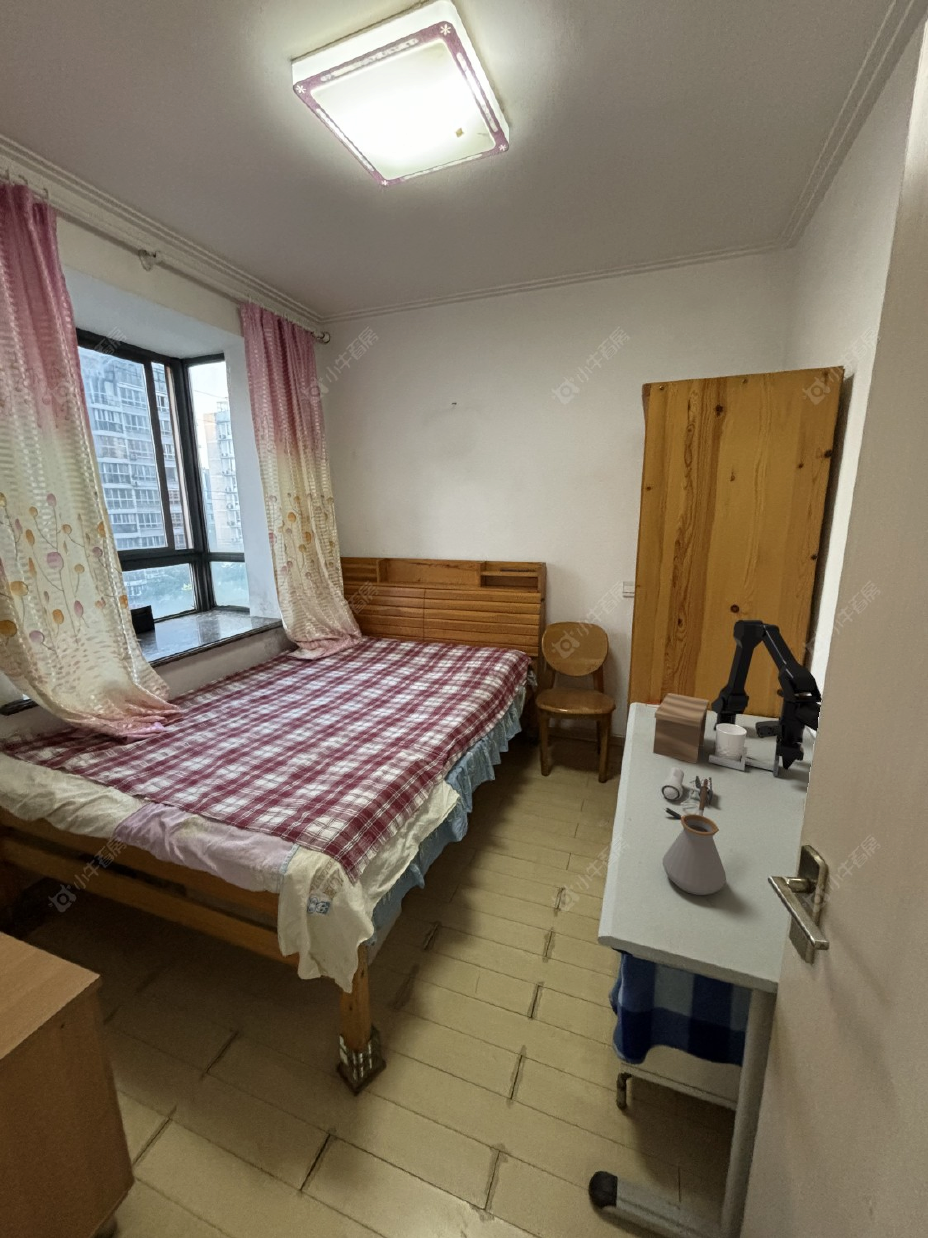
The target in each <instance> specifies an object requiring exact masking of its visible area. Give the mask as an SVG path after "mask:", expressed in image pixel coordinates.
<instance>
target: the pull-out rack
mask: <svg viewBox="0 0 928 1238" xmlns="http://www.w3.org/2000/svg"><path fill="white" fill-rule="evenodd" d="M713 750H715V741H713ZM775 751H776V749H775ZM775 751H774V752H775ZM747 753H748V747H746V746H744V749H743V754H742V757H741V762H739V761H735V760H731V759H726V758H722V757H718V756H715V755H714V754H709V757H708V758H709V759H708V762H709V763H711V764H716V765H719V766H722V767H723V766H725V767H728V768H731V769H736V770H741V771H745V766H746V765H747V766H751V767H756V768H759V769H765V770H769V771H772V776H775V777H778V772H779V765H780V756H777V755H775V754H774V758H773V763H769V762H764V761H760V760H755V759H751V758H747V756H748V754H747Z"/></svg>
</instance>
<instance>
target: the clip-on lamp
mask: <svg viewBox="0 0 928 1238" xmlns="http://www.w3.org/2000/svg"><path fill="white" fill-rule="evenodd" d="M684 776H685V773H684V771H683V770H682V768H681V767H677V766H674V767H673V766H672V768H670V769H669V772H668V775H667V778H666V779H665V780H664V781H663V782H662V784H661V786H660V790H661V791H660V792H661V795H663V797H664V798H666V799H668V800H671V801H677V800H679V799H680V798H681V797H682V795H683V788H684V789H686V790H690V792H689V796H688V798H687V799H686V800H684V801H682V802H680V805H681V806H697V809H696V811H694V813H692V814H696V815H697V812H699V804H698V803H694V802H689V801H690V800H691V799H692V795H693V794H694V793H695V792H696V793H697V794H698V797H699V799H700V795H701V792H702V790H703V789H702V786H703V784H701V783H703V782H704V781H701V780H703V779H702V778H700V777H699V775H696V777H695V779H692V780H689V783H690V784H692V785H693V786H692V785H689V784H686V783H683V782H684ZM707 780H708V781H710V782H711V783H712V777H710V776H709V777H708V779H707ZM710 782H708V785H711V783H710ZM695 786H696V787H695ZM707 787H708V790H707V798H708V799H707V800H708V801H707V804H708V806H711V803H712V799H713V795H714V792H713V783H712V785H711V786H707ZM699 803H700V800H699ZM662 810H665V812H666V813H667V814H668V815H670V816H672V817H674V818H675V819H678V820H681V818H682V817H683V816H682V815H681V814H680V813H677V812H676V811H674V810H672V809H671V808H669V807H662Z"/></svg>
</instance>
